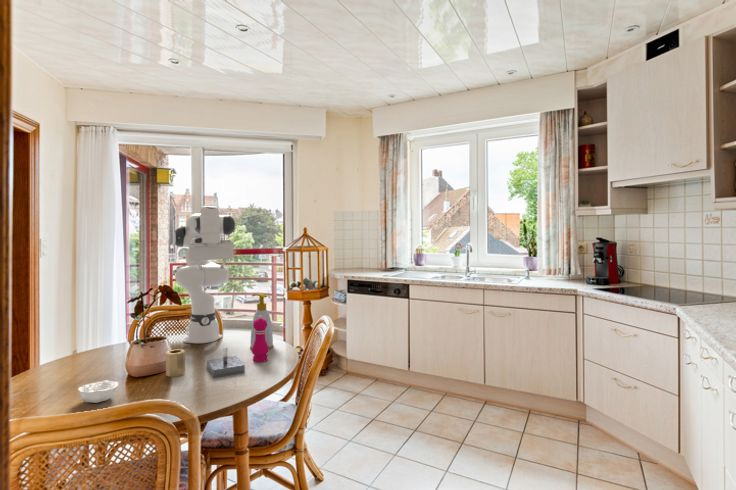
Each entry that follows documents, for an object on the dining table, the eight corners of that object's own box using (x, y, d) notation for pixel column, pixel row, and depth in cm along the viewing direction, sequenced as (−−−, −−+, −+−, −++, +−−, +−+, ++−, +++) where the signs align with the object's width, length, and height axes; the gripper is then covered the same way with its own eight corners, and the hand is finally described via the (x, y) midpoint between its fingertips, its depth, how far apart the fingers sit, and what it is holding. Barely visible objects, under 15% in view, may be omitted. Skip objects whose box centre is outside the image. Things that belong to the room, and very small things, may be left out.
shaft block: (206, 367, 168) (206, 345, 168) (236, 362, 175) (236, 341, 174) (213, 377, 156) (213, 355, 156) (244, 372, 163) (244, 350, 162)
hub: (169, 371, 163) (169, 349, 162) (186, 370, 164) (186, 348, 164) (164, 377, 156) (164, 354, 156) (182, 376, 158) (182, 353, 157)
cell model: (89, 394, 140) (89, 375, 140) (125, 394, 141) (125, 375, 140) (69, 407, 130) (69, 387, 130) (108, 407, 130) (107, 386, 130)
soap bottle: (261, 343, 204) (261, 291, 203) (278, 346, 198) (278, 293, 197) (244, 348, 195) (244, 294, 194) (261, 352, 189) (261, 297, 188)
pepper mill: (264, 363, 174) (264, 317, 173) (248, 362, 175) (248, 316, 174) (271, 358, 181) (271, 313, 180) (256, 356, 182) (256, 313, 182)
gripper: (232, 240, 196) (232, 268, 196) (186, 240, 186) (187, 270, 185) (235, 239, 191) (236, 268, 190) (188, 239, 180) (189, 270, 180)
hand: (211, 269), depth 188 cm, fingers open, 8 cm apart
